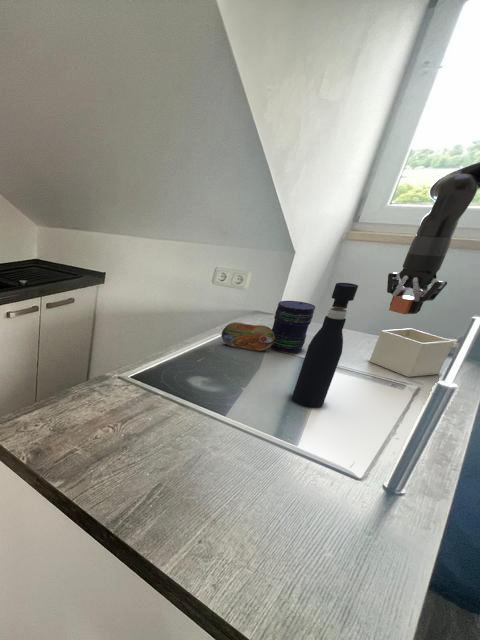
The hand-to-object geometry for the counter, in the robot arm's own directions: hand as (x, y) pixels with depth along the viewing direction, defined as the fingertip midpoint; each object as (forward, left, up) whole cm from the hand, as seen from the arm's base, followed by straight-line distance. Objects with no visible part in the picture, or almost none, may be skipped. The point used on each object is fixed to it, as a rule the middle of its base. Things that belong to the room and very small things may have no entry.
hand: (403, 310), depth 116 cm
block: (0, 0, 0) cm, 0 cm away
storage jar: (+24, -12, -15) cm, 31 cm away
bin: (+1, +8, -15) cm, 17 cm away
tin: (+36, -15, -15) cm, 42 cm away
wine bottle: (+46, +20, -15) cm, 52 cm away
